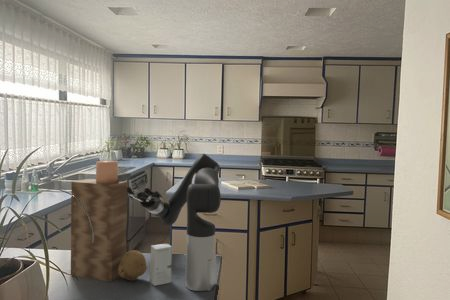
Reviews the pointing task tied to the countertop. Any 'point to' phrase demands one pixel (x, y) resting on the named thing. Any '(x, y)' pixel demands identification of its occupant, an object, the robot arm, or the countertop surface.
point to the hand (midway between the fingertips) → (135, 188)
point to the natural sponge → (132, 265)
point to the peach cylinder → (109, 172)
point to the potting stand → (98, 228)
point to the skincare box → (160, 264)
